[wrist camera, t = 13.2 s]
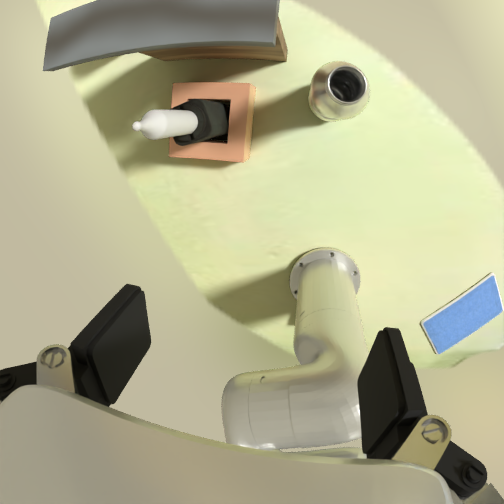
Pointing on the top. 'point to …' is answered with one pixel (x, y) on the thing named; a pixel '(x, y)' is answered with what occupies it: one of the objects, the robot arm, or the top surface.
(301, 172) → the top surface
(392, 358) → the robot arm
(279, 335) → the top surface
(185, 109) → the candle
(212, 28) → the brown board grey top
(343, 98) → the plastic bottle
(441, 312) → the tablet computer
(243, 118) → the socket block
